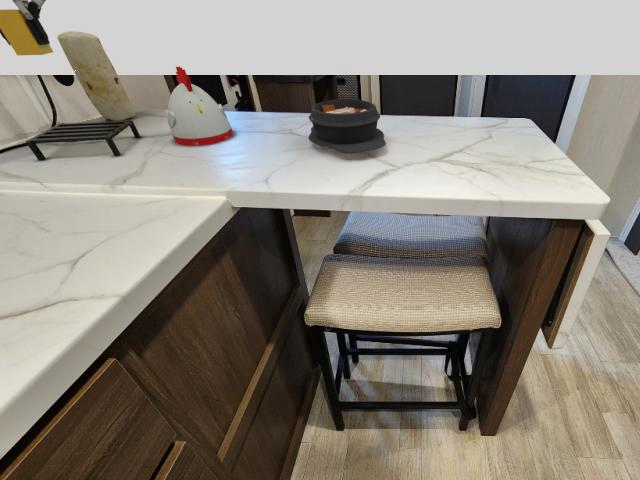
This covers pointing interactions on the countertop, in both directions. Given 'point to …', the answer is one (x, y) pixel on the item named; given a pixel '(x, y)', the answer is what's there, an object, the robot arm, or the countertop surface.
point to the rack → (82, 134)
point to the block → (20, 34)
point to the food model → (96, 74)
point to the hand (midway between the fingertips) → (29, 43)
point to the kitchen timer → (195, 115)
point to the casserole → (346, 126)
